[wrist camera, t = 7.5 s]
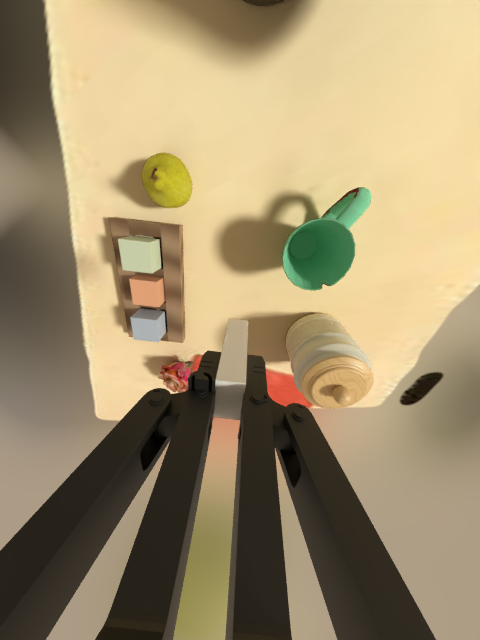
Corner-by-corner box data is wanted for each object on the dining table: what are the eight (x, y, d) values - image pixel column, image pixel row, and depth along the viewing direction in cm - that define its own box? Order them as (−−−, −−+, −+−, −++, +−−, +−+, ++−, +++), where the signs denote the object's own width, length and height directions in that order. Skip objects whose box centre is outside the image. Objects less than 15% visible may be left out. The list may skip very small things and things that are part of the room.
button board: (115, 217, 38) (108, 217, 36) (182, 225, 38) (179, 225, 36) (133, 332, 49) (129, 336, 47) (185, 338, 49) (182, 342, 47)
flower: (183, 346, 48) (156, 372, 43) (211, 374, 49) (187, 402, 44) (174, 353, 56) (150, 376, 51) (199, 377, 57) (177, 402, 52)
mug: (305, 282, 41) (319, 302, 32) (264, 253, 39) (268, 266, 30) (365, 212, 35) (402, 213, 26) (320, 173, 33) (345, 160, 24)
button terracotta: (139, 272, 41) (129, 278, 38) (165, 275, 41) (156, 282, 38) (142, 296, 44) (132, 304, 40) (166, 299, 44) (159, 307, 40)
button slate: (140, 308, 43) (130, 317, 40) (164, 311, 43) (156, 320, 40) (143, 329, 46) (133, 339, 42) (165, 332, 46) (158, 342, 42)
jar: (348, 352, 48) (394, 421, 33) (293, 366, 51) (310, 436, 35) (339, 303, 43) (389, 357, 27) (277, 322, 46) (290, 380, 30)
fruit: (162, 211, 37) (125, 212, 26) (148, 163, 34) (101, 142, 23) (200, 204, 36) (178, 202, 25) (190, 155, 33) (161, 129, 22)
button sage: (130, 235, 37) (117, 238, 33) (159, 239, 37) (149, 242, 33) (134, 264, 39) (122, 270, 36) (161, 267, 39) (152, 273, 36)
